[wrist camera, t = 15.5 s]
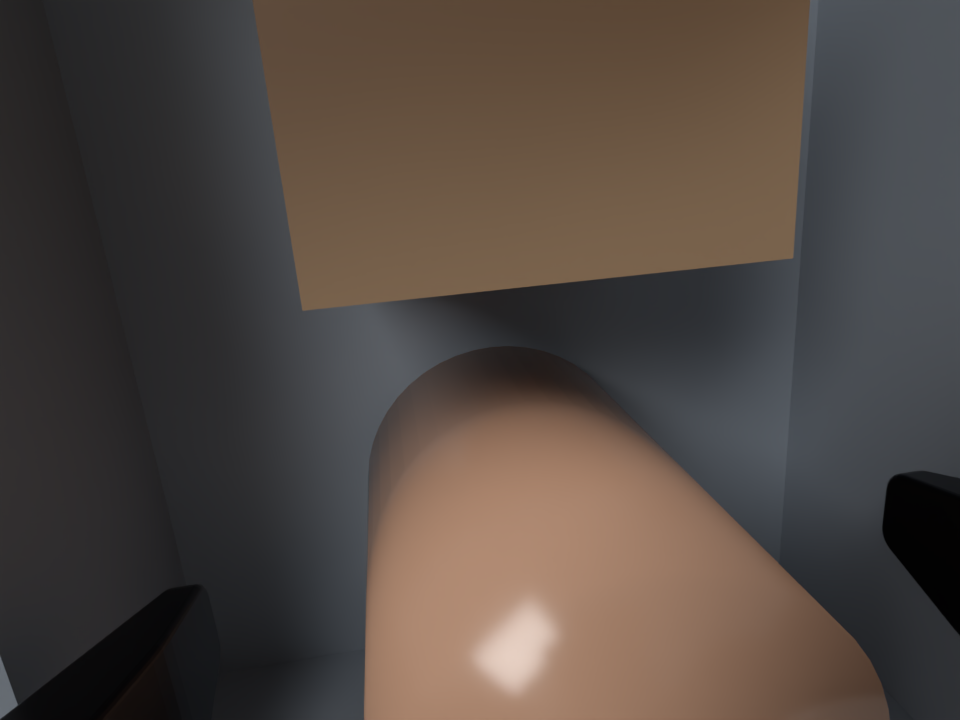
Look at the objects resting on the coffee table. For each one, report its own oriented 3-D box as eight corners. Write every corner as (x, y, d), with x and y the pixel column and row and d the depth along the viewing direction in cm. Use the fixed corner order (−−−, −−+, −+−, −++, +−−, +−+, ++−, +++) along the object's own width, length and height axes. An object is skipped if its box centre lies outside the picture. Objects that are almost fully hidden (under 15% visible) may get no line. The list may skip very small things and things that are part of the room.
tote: (856, -378, 10) (1389, -970, 5) (786, 581, 15) (1005, 805, 10) (-87, -398, 8) (-853, -1327, 3) (191, 682, 14) (74, 1014, 8)
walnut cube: (622, 218, 12) (793, 257, 7) (333, 245, 11) (302, 310, 6) (618, -115, 10) (832, -357, 5) (283, -104, 9) (193, -367, 5)
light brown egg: (627, 563, 14) (864, 940, 7) (385, 603, 13) (398, 1056, 6) (624, 330, 12) (920, 532, 6) (350, 363, 12) (320, 633, 5)
